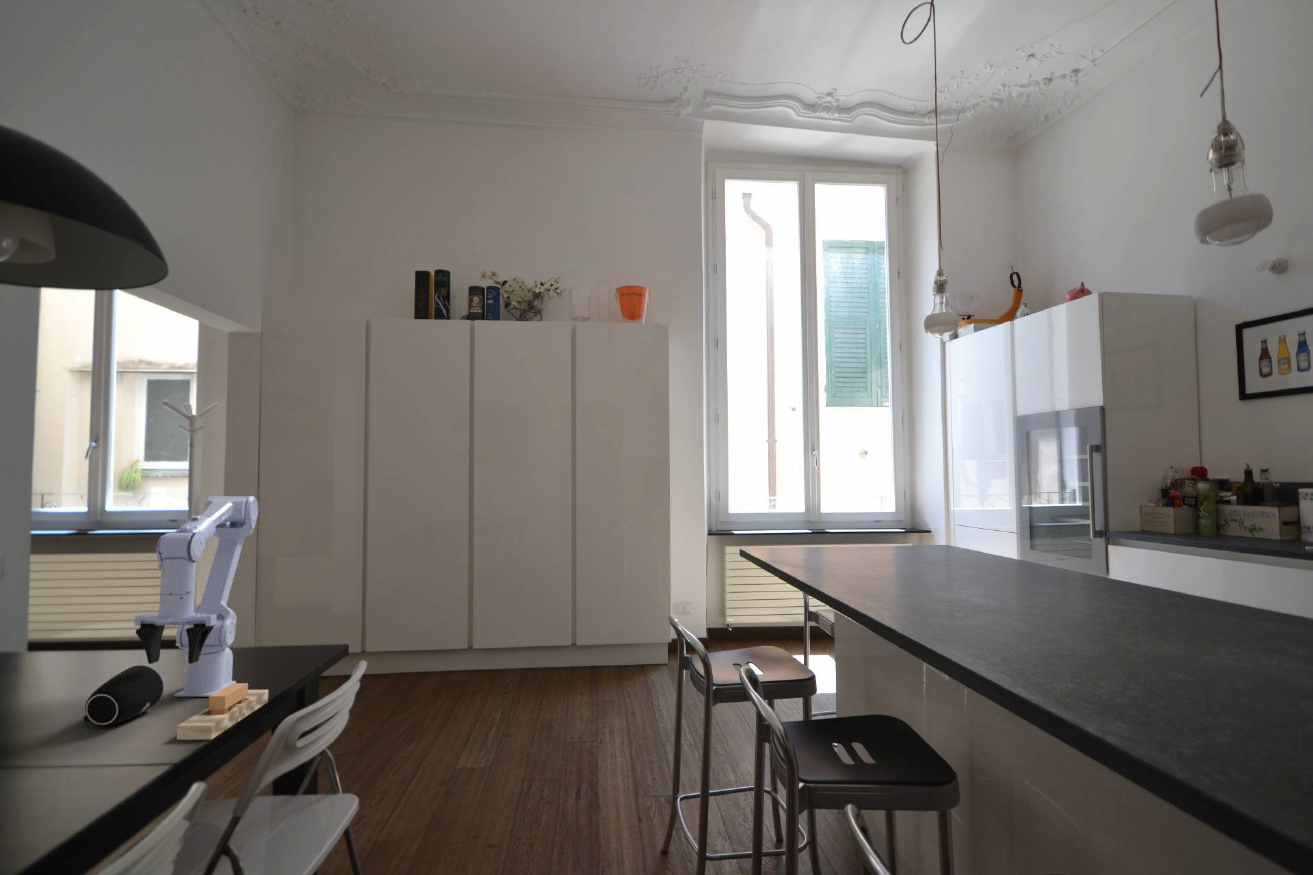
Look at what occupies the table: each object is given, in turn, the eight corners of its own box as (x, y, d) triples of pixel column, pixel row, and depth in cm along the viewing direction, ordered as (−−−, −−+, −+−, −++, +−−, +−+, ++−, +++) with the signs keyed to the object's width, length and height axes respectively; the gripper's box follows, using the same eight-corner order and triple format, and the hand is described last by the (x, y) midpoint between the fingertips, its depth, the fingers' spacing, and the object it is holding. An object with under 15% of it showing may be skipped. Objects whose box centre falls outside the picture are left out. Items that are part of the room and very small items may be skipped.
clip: (231, 710, 137) (232, 683, 137) (246, 710, 137) (248, 683, 137) (207, 725, 129) (209, 696, 129) (224, 725, 129) (225, 696, 129)
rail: (238, 701, 142) (238, 689, 142) (267, 701, 142) (268, 689, 143) (176, 739, 122) (177, 725, 122) (211, 739, 123) (212, 725, 123)
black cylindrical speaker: (136, 717, 127) (172, 694, 137) (110, 676, 126) (148, 656, 136) (79, 749, 126) (120, 724, 136) (53, 709, 126) (95, 686, 136)
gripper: (125, 596, 131) (120, 667, 130) (203, 596, 132) (199, 667, 131) (150, 590, 138) (146, 658, 137) (224, 590, 139) (220, 658, 138)
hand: (173, 662), depth 135 cm, fingers open, 7 cm apart
